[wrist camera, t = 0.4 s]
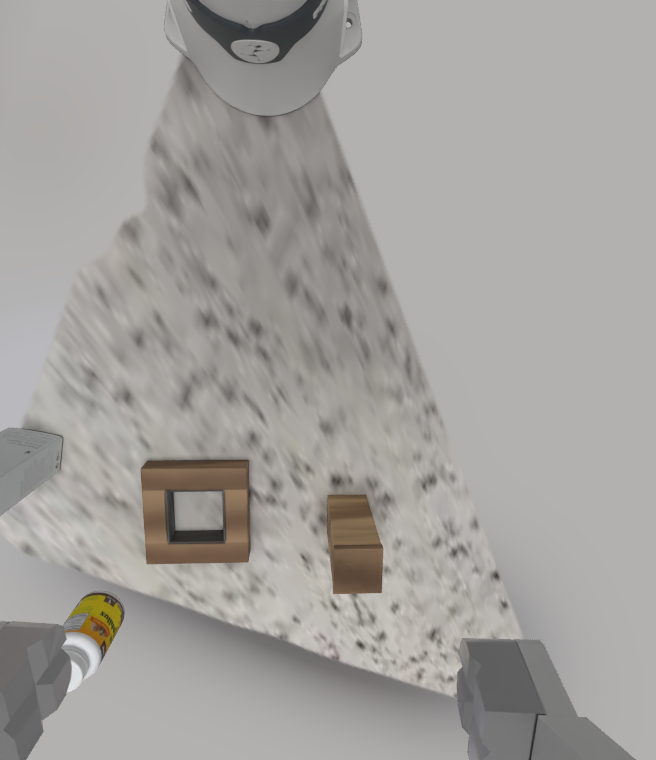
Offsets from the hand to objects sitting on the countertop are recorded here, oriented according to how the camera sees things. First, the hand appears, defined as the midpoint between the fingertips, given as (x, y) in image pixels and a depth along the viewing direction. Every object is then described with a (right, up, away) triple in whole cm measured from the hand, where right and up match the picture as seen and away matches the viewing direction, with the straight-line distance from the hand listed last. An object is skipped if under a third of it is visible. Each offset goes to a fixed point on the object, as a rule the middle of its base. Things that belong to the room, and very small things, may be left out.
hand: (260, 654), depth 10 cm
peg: (+4, -10, +48) cm, 49 cm away
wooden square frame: (-13, -9, +47) cm, 49 cm away
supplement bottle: (-26, -22, +49) cm, 59 cm away
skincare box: (-31, -2, +44) cm, 54 cm away
